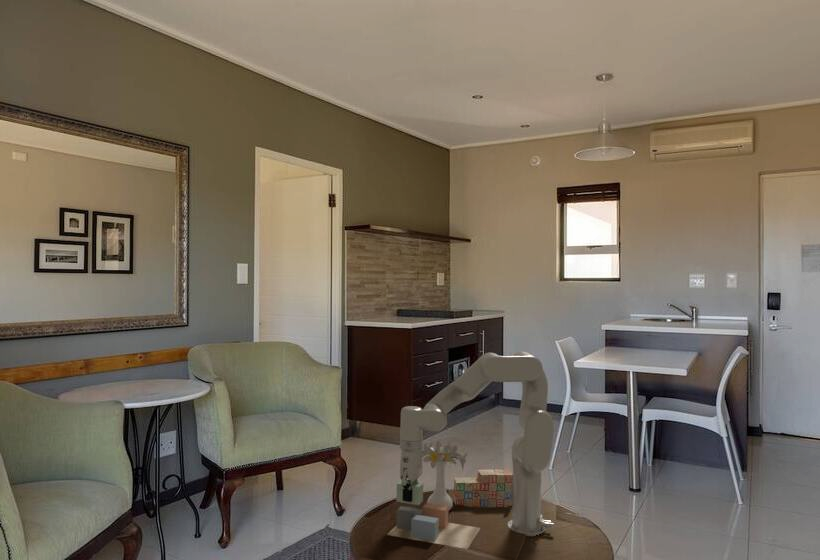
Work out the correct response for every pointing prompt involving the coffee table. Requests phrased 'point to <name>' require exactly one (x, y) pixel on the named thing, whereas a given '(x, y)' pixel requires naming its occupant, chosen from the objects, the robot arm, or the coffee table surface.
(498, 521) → the coffee table surface
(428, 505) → the terracotta brick
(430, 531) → the dusty blue brick
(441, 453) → the flower vase
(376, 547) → the coffee table surface
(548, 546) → the coffee table surface
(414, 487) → the sage brick
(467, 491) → the stack of blocks
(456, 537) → the birch board
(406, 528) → the charcoal brick
